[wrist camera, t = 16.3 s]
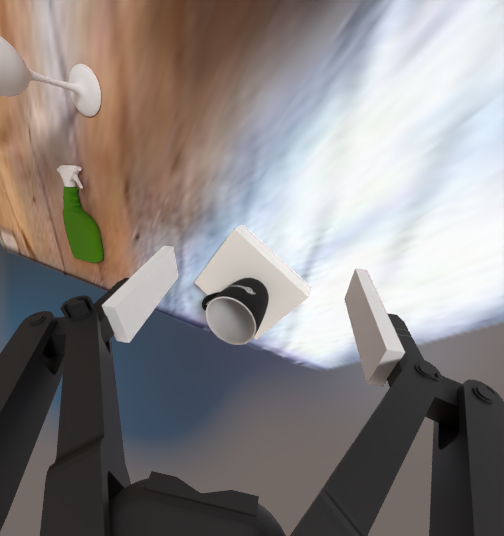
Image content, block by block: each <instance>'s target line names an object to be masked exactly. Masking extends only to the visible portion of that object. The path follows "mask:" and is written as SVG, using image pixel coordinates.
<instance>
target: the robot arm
mask: <svg viewBox="0 0 504 536" xmlns="http://www.w3.org/2000/svg"><path fill="white" fill-rule="evenodd" d="M177 278H178V272H177V266H176V260H175V254H174V248H173V247H170V246H163V247H162V248H161V249H160V250H159V251H158V252H157V253H156V254H155V255H154V256H153V257H151V258H150V259H149V260H148V261H147V262H146V263H145V264H144V265H143V266H142V267H141V268H140V269H139V270H138V271H137V272H136V273H135V274H134V275H133V276H132V277H131V278H125V279H123V280H121V281H119V282H117V283H116V284H115V285H114V286H113V287H112V289H110V290H109V291H108V292H107V293H105V295H103V296H102V297H101V298H100V299H99V300H98V301H97V302H96V303H95V304H93V302H92V300H91V298H90V297H88V296H78V297H74V298H71V299H69V300H68V301H66V302H65V303H64V304H63V305H62V306H61V310H62V312H63V314H64V315H65V317H59V318H55V317H54V315H53V314H52V313H51V312H48V311H42V312H38V313H35V314H33V315H31V316H29V317H27V318H26V319H25V320H24V321H23V322H22V323H21V324H20V326H19V327H18V329H17V330H16V332H15V333H14V334H13V336H12V338H11V339H10V340H9V342H8V343H7V345H6V346H5V348H4V349H3V351H2V352H1V354H0V531H1V529H2V526H3V524H4V522H5V519H6V517H7V515H8V512H9V510H10V507H11V504H12V502H13V499H14V497H15V494H16V492H17V489H18V487H19V484H20V481H21V479H22V476H23V474H24V471H25V469H26V466H27V464H28V461H29V459H30V456H31V453H32V451H33V448H34V446H35V443H36V441H37V438H38V435H39V433H40V431H41V428H42V425H43V423H44V420H45V418H46V415H47V413H48V410H49V408H50V405H51V403H52V400H53V397H54V395H55V392H56V390H57V387H58V385H59V382H60V379H61V377H62V374H63V381H62V393H61V406H60V419H59V431H58V445H57V456H56V461H55V463H54V464H52V465H51V466H50V467H49V469H48V471H47V476H46V482H45V491H44V502H43V510H42V520H41V531H40V536H286V535H285V533H284V532H283V530H282V528H281V526H280V525H279V523H278V522H277V521H276V519H275V518H274V517H273V515H272V514H271V513H270V512H269V511H268V510H267V509H265V508H264V507H263V506H261V505H260V504H259V503H258V496H254V495H250V494H246V493H241V492H237V491H233V490H229V491H220V492H211V493H199V492H198V491H196V490H195V489H193V488H192V487H190V486H189V485H188V484H186V483H184V482H183V481H182V480H180V479H179V478H177V477H174V476H170V475H166V474H161V473H157V472H153V471H152V472H151V474H150V477H149V479H144V480H141V481H138V482H136V483H134V484H130V479H129V475H128V472H127V468H126V465H125V458H124V449H123V440H122V432H121V423H120V415H119V406H118V397H117V389H116V380H115V372H114V363H113V354H112V346H111V342H110V338H111V337H112V336H113V335H115V338H116V340H117V341H121V342H127V343H130V341H131V340H132V339H133V337H134V335H135V334H136V333H137V332H138V330H139V329H140V328H141V326H142V325H143V324H144V322H145V321H146V320H147V318H148V317H149V316H150V314H151V313H152V312H153V310H154V309H155V308H156V306H157V305H158V304H159V302H160V301H161V299H162V298H163V297H164V295H165V294H166V293H167V291H168V290H169V289H170V287H171V286H172V285H173V283H174V282H175V281H176V279H177ZM345 303H346V306H347V310H348V314H349V318H350V321H351V325H352V329H353V333H354V336H355V340H356V344H357V348H358V352H359V355H360V359H361V363H362V367H363V370H364V373H365V378H366V382H367V384H371V385H377V386H384V384H385V383H386V381H388V384H389V386H390V389H389V390H388V392H387V393H386V395H385V396H384V398H383V399H382V401H381V402H380V404H379V405H378V407H377V408H376V409H375V411H374V412H373V414H372V415H371V417H370V418H369V420H368V421H367V423H366V424H365V426H364V427H363V429H362V430H361V432H360V433H359V435H358V436H357V438H356V439H355V441H354V442H353V443H352V445H351V447H350V448H349V450H348V451H347V452H346V454H345V456H344V457H343V458H342V460H341V461H340V463H339V464H338V466H337V467H336V469H335V471H334V472H333V473H332V475H331V476H330V478H329V479H328V480H327V482H326V483H325V485H324V487H323V488H322V489H321V491H320V492H319V494H318V495H317V497H316V498H315V500H314V501H313V503H312V504H311V506H310V508H309V509H308V510H307V512H306V513H305V514H304V516H303V517H302V519H301V520H300V522H299V523H298V525H297V526H296V528H295V529H294V531H293V532H292V534H291V535H290V536H368V533H369V530H370V529H371V527H372V524H373V523H374V521H375V519H376V517H377V514H378V512H379V510H380V508H381V506H382V504H383V502H384V500H385V498H386V496H387V494H388V492H389V490H390V488H391V486H392V484H393V481H394V479H395V477H396V475H397V473H398V471H399V469H400V467H401V465H402V463H403V461H404V459H405V457H406V455H407V452H408V451H409V448H410V446H411V444H412V442H413V440H414V438H415V436H416V434H417V432H418V430H419V428H420V426H421V424H422V422H423V420H424V417H427V418H430V419H432V420H434V433H433V456H432V481H431V505H430V530H429V536H504V402H503V399H502V398H501V397H500V396H499V394H498V393H497V392H496V391H494V390H493V389H492V388H491V387H489V386H488V385H486V384H484V383H482V382H479V381H476V380H467V381H465V382H464V383H463V384H461V383H458V382H456V381H453V380H451V379H448V378H446V377H444V376H442V375H441V374H440V372H439V371H438V370H437V369H436V367H434V366H433V365H432V364H431V363H429V362H427V361H425V360H424V359H423V357H422V355H421V353H420V351H419V349H418V348H417V346H416V344H415V342H414V340H413V338H412V337H411V334H410V332H409V331H408V329H407V327H406V325H405V323H404V321H402V320H401V319H400V318H399V317H398V316H397V315H394V314H387V312H386V310H385V308H384V306H383V304H382V301H381V299H380V297H379V295H378V293H377V291H376V288H375V286H374V284H373V282H372V280H371V278H370V276H369V273H368V271H367V270H363V269H355V271H354V274H353V277H352V279H351V282H350V285H349V288H348V291H347V294H346V296H345Z"/></svg>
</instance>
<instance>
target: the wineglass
mask: <svg viewBox="0 0 504 536" xmlns="http://www.w3.org/2000/svg"><path fill="white" fill-rule="evenodd" d="M31 80H35V81H40V82H45V83H49V84H52V85H55V86H59V87H62V88H64V89H67V90H69V91H70V95H71V98H72V101H73V103H74V105H75V106H76V108H77V109H78V110H79V111H80V112H81V113H82V114H83V115H85V116H88V117H91V116H94V115H95V114H97V112H98V111H99V108H100V105H101V90H100V86H99V83H98V80H97V78H96V76H95V74H94V73H93V71H92V70H91V69H90V68H89V67H88V66H86V65H84V64H77V65H75V66H74V67H73V68H72V69H71V72H70V74H69V83H68V82H63V81H60V80H56V79H53V78H49V77H46V76H43V75H41V74H38V73H36V72H33V71H32V70H30V69H29V68H28V67H27V66H26V64H25V62H24V60H23V59H22V57H21V56H20V55H19V53H18V52H17V51H16V50H15V49H14V48H13V47H12V46H11V45H10V44H9V43H8V42H7V41H6V40H5V39H3V38H2V37H1V36H0V96H16V95H18V94H20V93H22V92H23V91H25V89H26V88H27V87H28V85H29V82H30V81H31Z"/></svg>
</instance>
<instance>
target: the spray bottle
mask: <svg viewBox="0 0 504 536" xmlns="http://www.w3.org/2000/svg"><path fill="white" fill-rule="evenodd" d="M81 170H82V168H81V167H78V166H73V165H60V167H59V168H58V169H57V171H58V172H59V173H60V175H61V177H62V179H63V181H64V185H65V186H64V196H63V200H64V209H63V217H64V224H65V229H66V233H67V237H68V240H69V244H70V247H71V250H72V253H73V255H74V257H75V258H77V259H80V260H84V261H88V262H92V263H98V262H101V261H103V260H104V253H103V246H102V240H101V236H100V232H99V229H98V226H97V224H96V223H95V221H94V220H93V219H92V218H91V217H90V216H89V215H88V214H87V213H86V212H84V211H83V210H82V208H81V204H80V202H79V196H78V188H77V187H76V186H75V181H76V182H77V184H78V185H79V187H80V188H81V189H83V187H82V185H81V182H80V180H79V178H78V174H79V171H81Z"/></svg>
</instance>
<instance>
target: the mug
mask: <svg viewBox="0 0 504 536" xmlns="http://www.w3.org/2000/svg"><path fill="white" fill-rule="evenodd" d="M210 300H211V301H210ZM209 301H210V302H209ZM268 301H269V295H268V291H267V289H266V287H265V286H264V284H263V283H262V282H260V281H259V280H257V279H254V278H243V279H240V280H238V281H236V282H234V283H232V284H231V285H229V286H228V287H226V288H225V289H224V290H222V291H221V292H216V293H212V294H210V295H208V296H206V297H205V298H204V299H203V302H202V307H203V309H204V310H205V311H206V312H205V315H206V320H207V323H208V325H209V327H210V329H211V330H212V332H213V333H214V334H215V335H216V336H217V337H219V338H220V339H221V340H223V341H225V342H227V343H230V344H235V345H241V344H246V343H248V342H249V341H251V340H252V339H253V338H254V336H255V335H256V333H257V331H258V329H259V327H260V325H261V323H262V320H263V318H264V316H265V313H266V310H267V306H268ZM208 302H209V303H208ZM207 303H208V305H206V304H207Z"/></svg>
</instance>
